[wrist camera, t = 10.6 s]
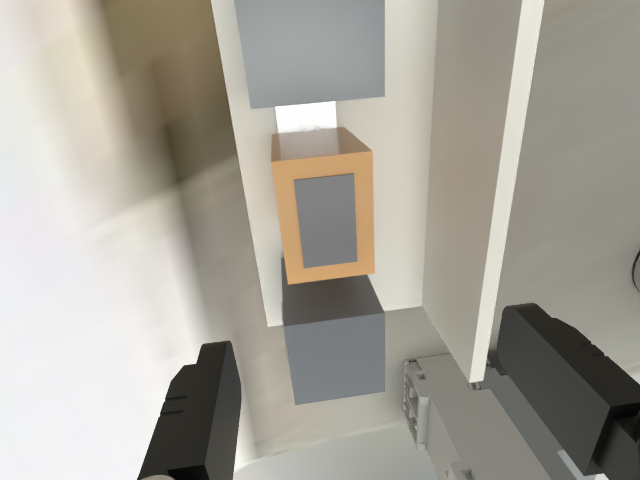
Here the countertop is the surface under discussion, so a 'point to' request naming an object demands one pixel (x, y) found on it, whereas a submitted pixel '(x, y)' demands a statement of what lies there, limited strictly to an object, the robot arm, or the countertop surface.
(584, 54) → the countertop surface
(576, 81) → the countertop surface
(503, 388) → the circuit breaker
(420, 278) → the panel
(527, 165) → the countertop surface
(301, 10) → the block
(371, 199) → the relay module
